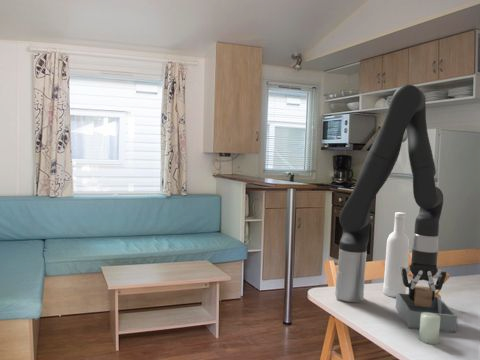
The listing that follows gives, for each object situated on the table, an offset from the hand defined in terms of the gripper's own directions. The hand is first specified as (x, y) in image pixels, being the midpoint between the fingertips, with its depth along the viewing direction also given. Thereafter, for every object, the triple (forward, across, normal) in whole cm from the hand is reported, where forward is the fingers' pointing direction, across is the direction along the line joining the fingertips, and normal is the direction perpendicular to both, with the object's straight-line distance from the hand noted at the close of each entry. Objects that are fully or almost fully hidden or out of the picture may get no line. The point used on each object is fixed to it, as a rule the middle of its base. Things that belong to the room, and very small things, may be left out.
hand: (420, 300), depth 142 cm
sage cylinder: (+4, +3, +20) cm, 21 cm away
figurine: (+5, -9, -12) cm, 15 cm away
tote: (+4, 0, +4) cm, 6 cm away
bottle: (+5, +4, -18) cm, 20 cm away
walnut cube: (+1, 0, 0) cm, 1 cm away
